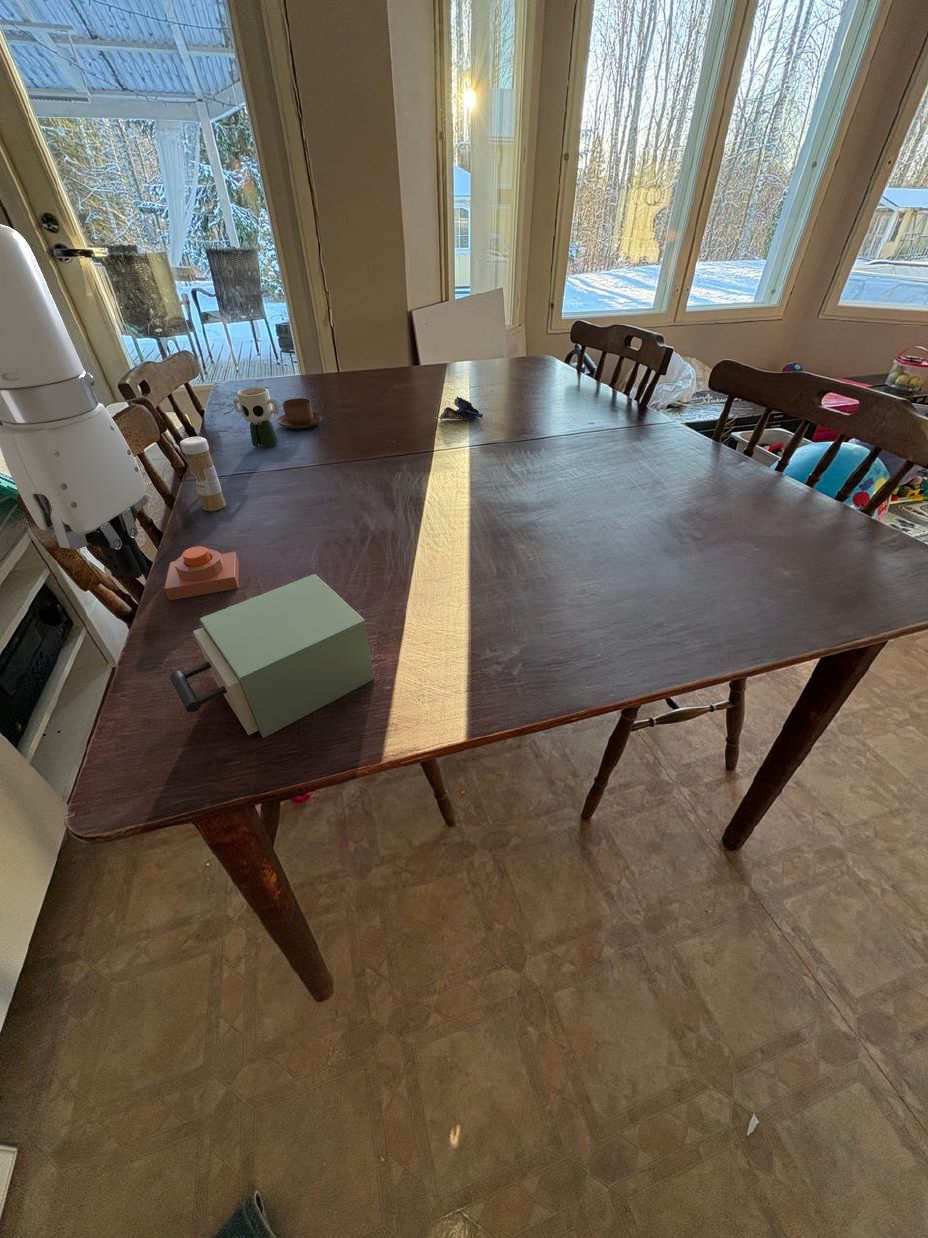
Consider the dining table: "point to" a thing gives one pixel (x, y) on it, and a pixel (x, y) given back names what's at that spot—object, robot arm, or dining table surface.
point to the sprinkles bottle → (203, 473)
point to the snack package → (460, 410)
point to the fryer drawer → (222, 677)
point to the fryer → (292, 650)
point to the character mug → (258, 414)
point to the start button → (196, 556)
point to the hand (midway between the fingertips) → (132, 572)
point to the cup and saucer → (298, 414)
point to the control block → (202, 576)
